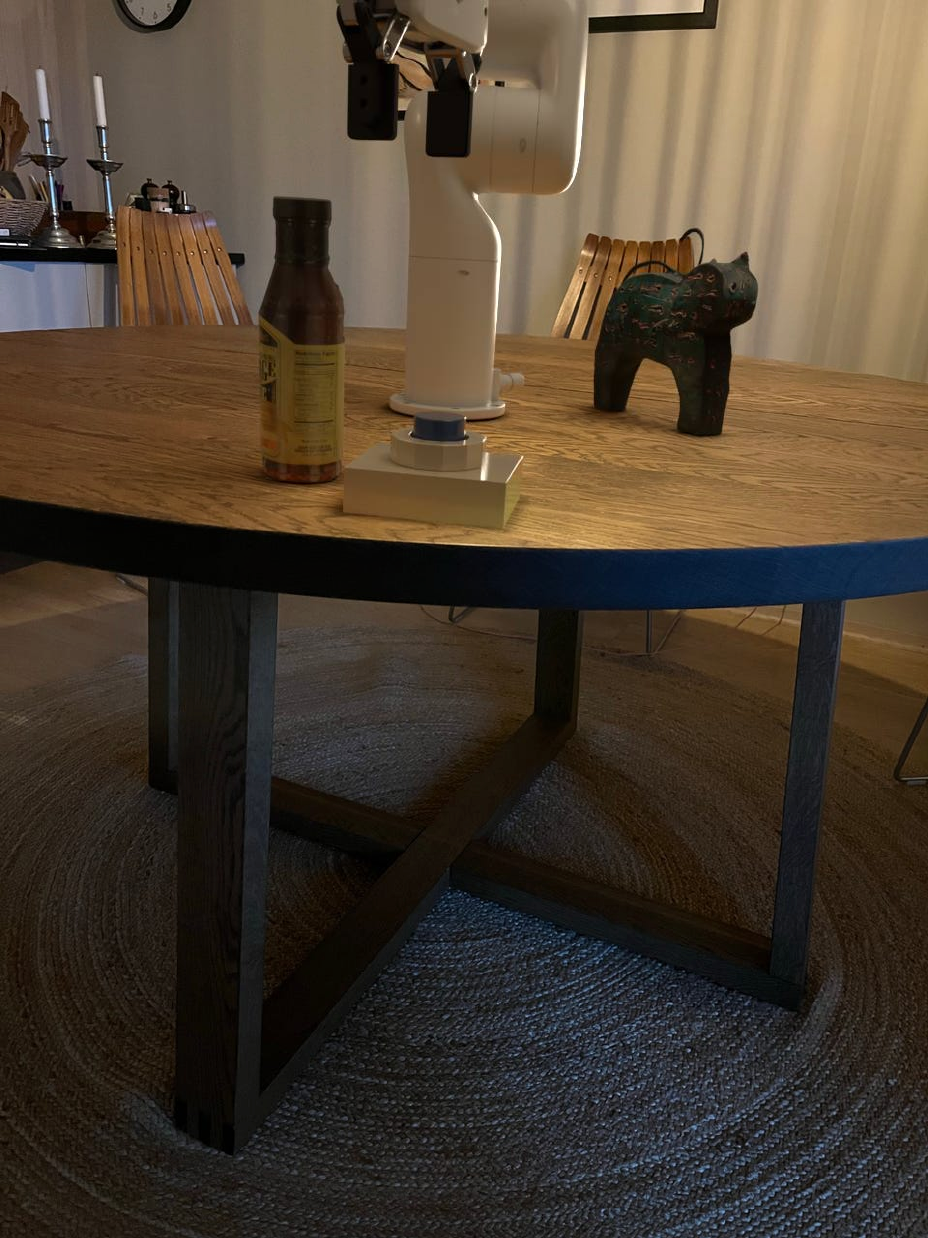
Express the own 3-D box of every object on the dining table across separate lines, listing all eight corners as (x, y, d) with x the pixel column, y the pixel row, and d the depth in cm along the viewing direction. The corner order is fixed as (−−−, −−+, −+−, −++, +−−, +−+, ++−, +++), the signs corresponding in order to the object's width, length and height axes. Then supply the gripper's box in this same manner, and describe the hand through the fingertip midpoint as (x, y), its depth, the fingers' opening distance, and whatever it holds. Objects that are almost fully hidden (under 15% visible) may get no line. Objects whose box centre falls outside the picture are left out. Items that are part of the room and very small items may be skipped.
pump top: (419, 434, 71) (420, 409, 71) (468, 438, 71) (470, 413, 70) (407, 443, 68) (408, 417, 67) (459, 447, 67) (460, 422, 67)
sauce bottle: (265, 466, 79) (260, 195, 72) (344, 469, 80) (347, 200, 73) (256, 486, 73) (250, 192, 66) (342, 488, 74) (345, 198, 67)
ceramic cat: (741, 437, 104) (773, 231, 96) (695, 440, 100) (725, 227, 93) (617, 405, 119) (637, 226, 112) (575, 407, 116) (592, 222, 109)
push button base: (377, 483, 76) (378, 418, 74) (520, 498, 74) (525, 431, 72) (342, 513, 68) (343, 439, 66) (503, 529, 66) (508, 455, 64)
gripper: (405, -253, 49) (394, 132, 55) (540, -131, 64) (519, 163, 70) (280, -232, 52) (282, 131, 58) (436, -120, 67) (425, 161, 73)
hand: (412, 148), depth 64 cm, fingers open, 9 cm apart
